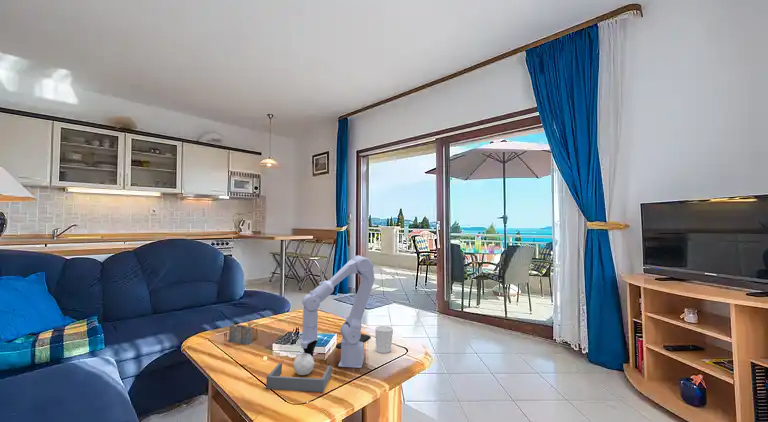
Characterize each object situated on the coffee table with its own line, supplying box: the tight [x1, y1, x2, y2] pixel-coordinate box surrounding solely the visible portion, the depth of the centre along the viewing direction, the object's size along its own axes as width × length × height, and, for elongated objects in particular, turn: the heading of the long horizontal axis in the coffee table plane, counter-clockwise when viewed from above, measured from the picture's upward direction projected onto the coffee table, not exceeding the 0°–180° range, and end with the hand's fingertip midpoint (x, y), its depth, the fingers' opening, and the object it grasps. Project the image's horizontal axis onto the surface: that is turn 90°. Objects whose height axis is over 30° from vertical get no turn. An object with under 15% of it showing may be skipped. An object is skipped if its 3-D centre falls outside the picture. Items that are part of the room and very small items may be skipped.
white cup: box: [374, 325, 394, 354], centre depth 153 cm, size 8×8×10 cm
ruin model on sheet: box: [228, 321, 254, 346], centre depth 159 cm, size 11×3×10 cm, turn 71°
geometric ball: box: [292, 352, 316, 377], centre depth 127 cm, size 8×8×8 cm
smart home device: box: [335, 333, 371, 350], centre depth 161 cm, size 8×2×20 cm
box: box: [265, 362, 332, 393], centre depth 121 cm, size 20×12×4 cm, turn 86°
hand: (308, 360), depth 131 cm, fingers closed
